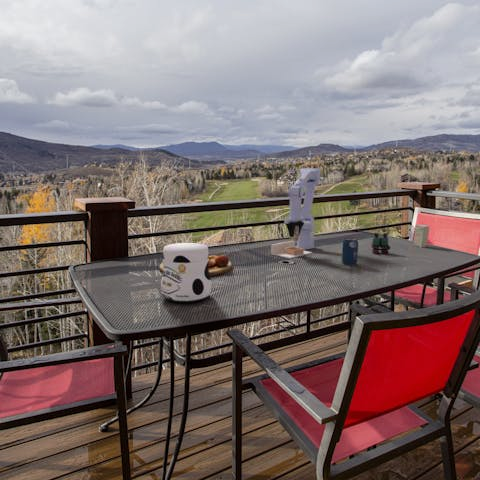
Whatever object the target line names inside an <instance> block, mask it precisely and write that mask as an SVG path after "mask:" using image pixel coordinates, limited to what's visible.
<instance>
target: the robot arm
mask: <svg viewBox="0 0 480 480" xmlns="http://www.w3.org/2000/svg"><path fill="white" fill-rule="evenodd" d="M299 176H300V177H299V178H298V179H297V180H296V181H295V182H294V183H293V184H292V185H291V186H289V188H288V200H289V214H288V215H289V217H287V218H285V219H284V220H283V221H284V222H283V223H284V224H285V226H286V228H287V231H288V236H289V237H294V230H295V227H296V226H299V232H298V241H296V245H295V247H299V248H304V251H307V250H310V249H314V248H316V246H315V234H314V232H313V231H314V230H315V218H314V216H312V215H311V214H312V213H311V212H312V208H313V207H312V206H313V202H314V196H315V189H316V187H317V186H319V184H320V179H321V170H320V168H318V167H317V168H311V167H310V168H307V167H306V168H305V167H302V168H301V170H300V173H299ZM303 196H304V197H303ZM302 200H303V203H302Z"/></svg>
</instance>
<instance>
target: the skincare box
mask: <svg viewBox="0 0 480 480" xmlns="http://www.w3.org/2000/svg"><path fill="white" fill-rule="evenodd" d="M429 233H430V225H425V224H415V228H414V237H413V246H414V245H415V247H418V246H419V247H418V248H427V247H428V241H429ZM426 246H427V247H426Z"/></svg>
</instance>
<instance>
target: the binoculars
mask: <svg viewBox="0 0 480 480" xmlns="http://www.w3.org/2000/svg"><path fill="white" fill-rule="evenodd" d="M389 245H390V244H389V237H388V232H385V233H383V234H382V236H379V233H377V232H374V236H373V237H372V241H371V249H372V250H371V251H372V254H373V255H377V256H378V255H380V252H381V254H382V255H383V254H384V255H383V256H386V255H388V254H389V250H391V246H389ZM389 255H390V254H389Z"/></svg>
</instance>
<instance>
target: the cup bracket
mask: <svg viewBox="0 0 480 480" xmlns="http://www.w3.org/2000/svg"><path fill="white" fill-rule="evenodd" d="M295 246H296V241H292V240H290V241H289V240H288V241H283V242H278V243H274V244H271V246H270V247H271V250H270V255H273V256H278V257H281V258H285V259H295V258H298V257H303V256H307V255H312V254H313V252H312V251H308V250H304V248H299V247H295Z"/></svg>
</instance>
